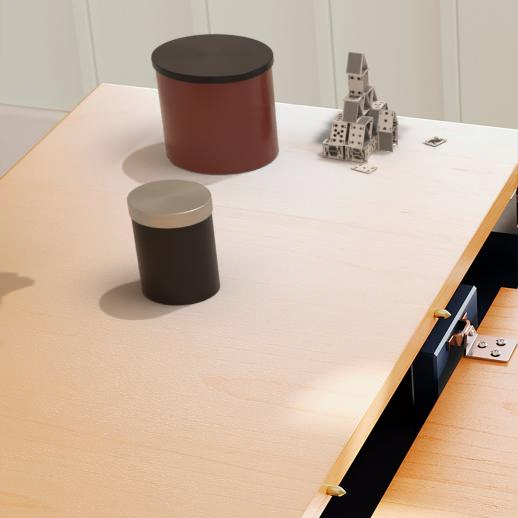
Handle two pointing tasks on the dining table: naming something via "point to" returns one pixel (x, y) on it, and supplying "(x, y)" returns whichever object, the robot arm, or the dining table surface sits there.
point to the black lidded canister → (174, 241)
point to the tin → (217, 103)
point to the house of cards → (363, 121)
